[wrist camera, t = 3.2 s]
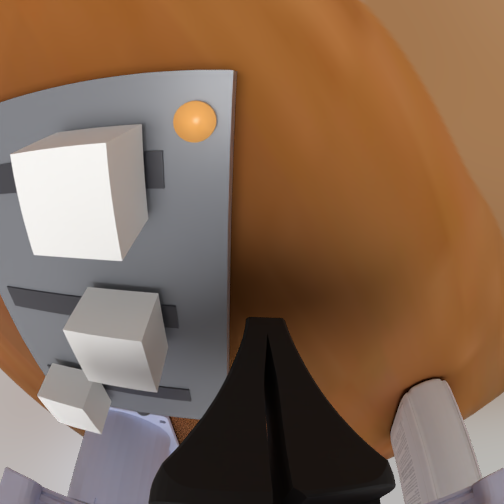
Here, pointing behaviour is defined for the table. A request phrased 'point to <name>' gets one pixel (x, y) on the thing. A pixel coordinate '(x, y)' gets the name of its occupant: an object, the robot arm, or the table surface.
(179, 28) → the table surface
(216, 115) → the switch panel
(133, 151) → the switch
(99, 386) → the switch
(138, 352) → the switch middle
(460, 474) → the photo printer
